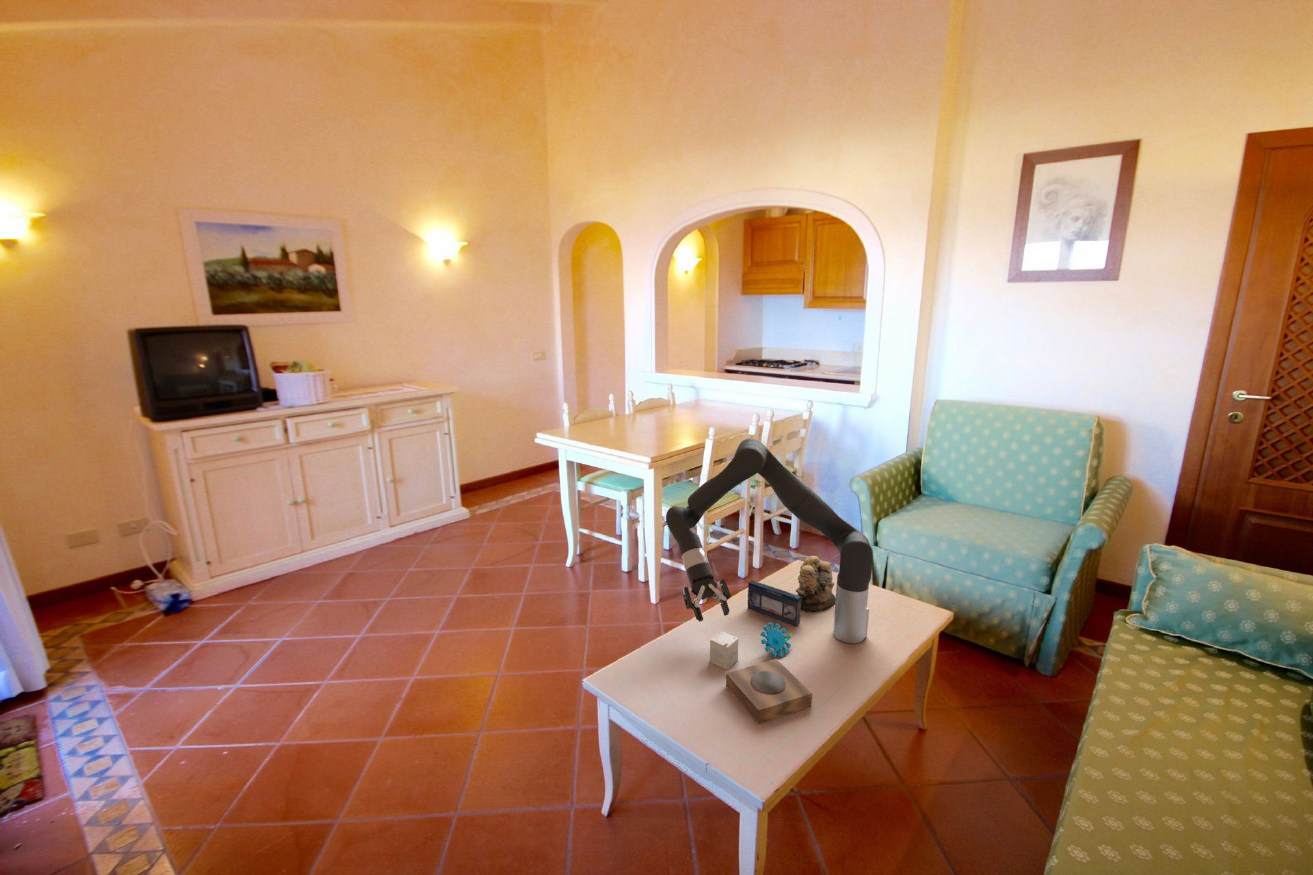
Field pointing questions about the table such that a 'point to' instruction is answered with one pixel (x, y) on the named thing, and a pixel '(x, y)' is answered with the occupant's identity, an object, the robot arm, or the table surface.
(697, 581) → the robot arm
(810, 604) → the owl figurine
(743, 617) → the table surface
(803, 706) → the platform
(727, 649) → the skincare box
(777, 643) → the gear
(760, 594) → the vhs cassette tape
